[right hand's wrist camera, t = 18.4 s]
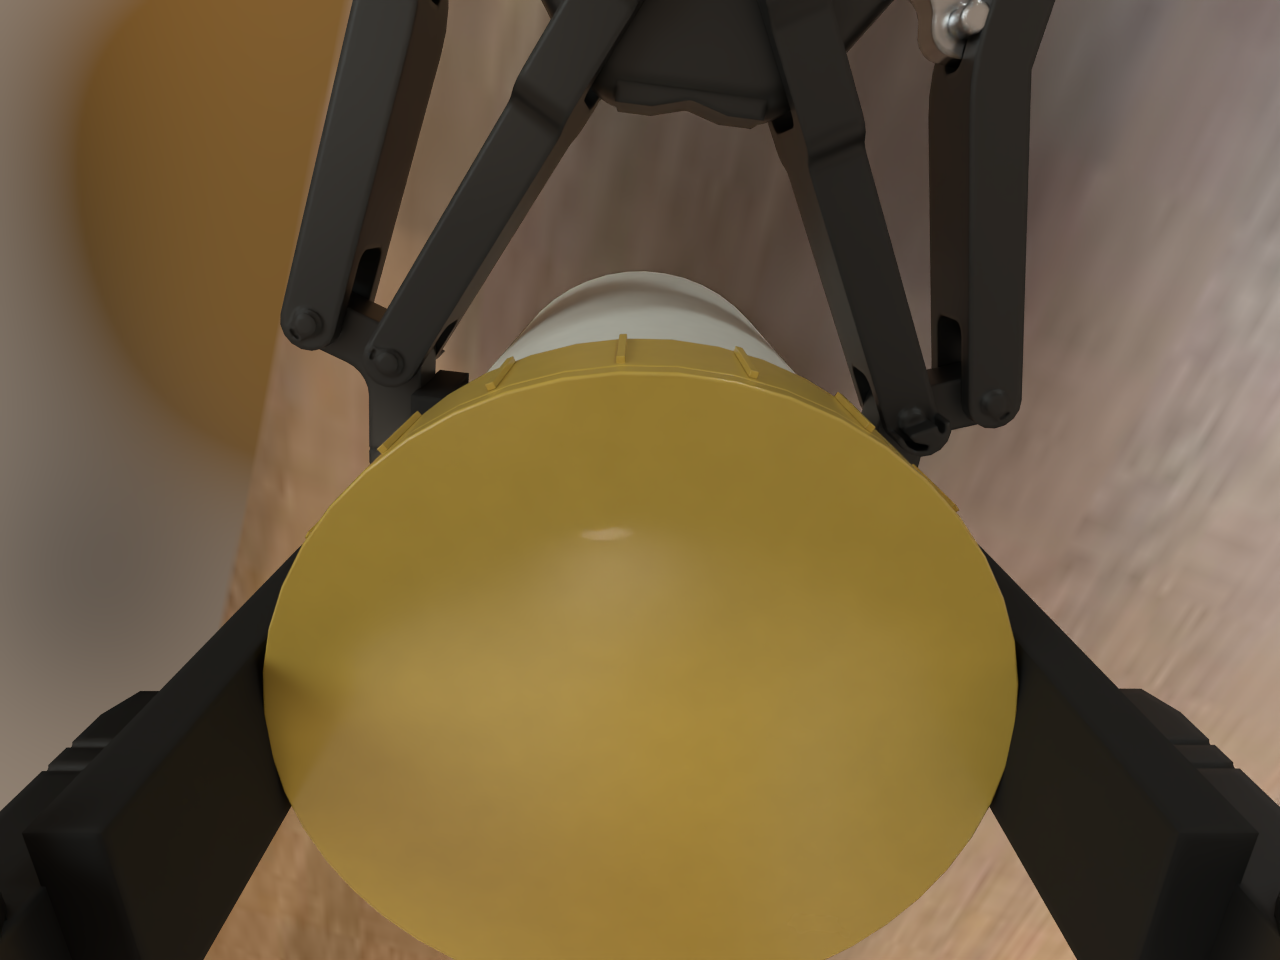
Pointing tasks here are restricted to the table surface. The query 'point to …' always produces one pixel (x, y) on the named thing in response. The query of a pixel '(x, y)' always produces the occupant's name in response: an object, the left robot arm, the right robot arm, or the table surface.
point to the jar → (640, 317)
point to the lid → (640, 666)
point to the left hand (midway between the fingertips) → (621, 633)
